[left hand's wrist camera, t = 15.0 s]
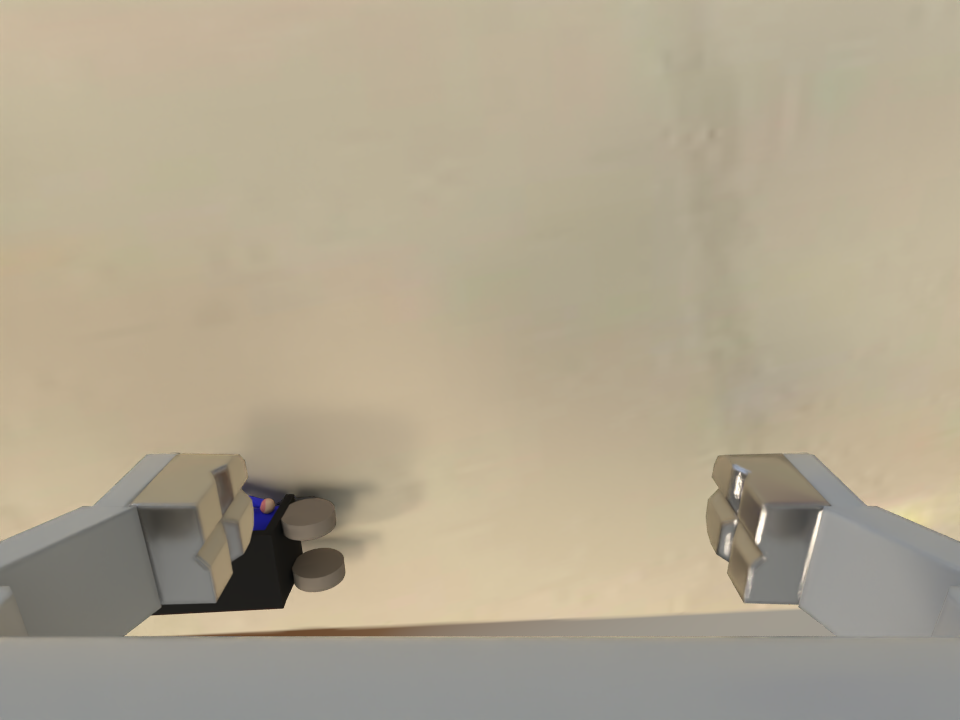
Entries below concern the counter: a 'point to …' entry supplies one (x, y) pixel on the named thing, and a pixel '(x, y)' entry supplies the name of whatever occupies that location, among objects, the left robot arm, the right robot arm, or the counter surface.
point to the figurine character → (277, 558)
